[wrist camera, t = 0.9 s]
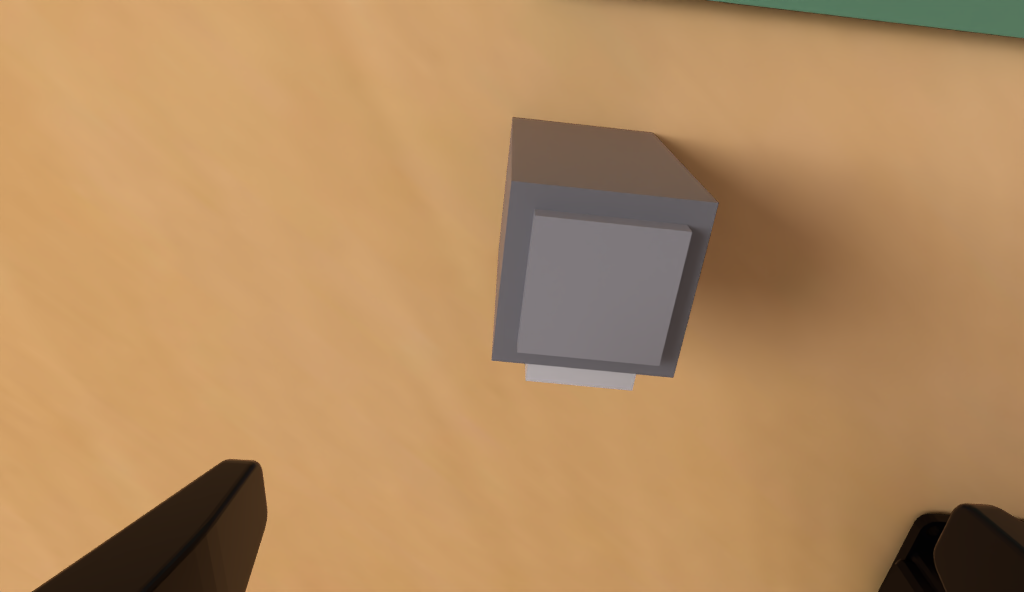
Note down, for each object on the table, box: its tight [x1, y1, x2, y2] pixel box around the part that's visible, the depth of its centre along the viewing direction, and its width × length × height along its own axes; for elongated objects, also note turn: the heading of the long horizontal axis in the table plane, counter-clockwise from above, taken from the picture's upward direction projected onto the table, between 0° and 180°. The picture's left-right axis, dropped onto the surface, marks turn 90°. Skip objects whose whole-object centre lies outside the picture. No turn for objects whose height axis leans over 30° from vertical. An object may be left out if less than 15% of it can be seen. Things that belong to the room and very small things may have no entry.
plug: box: [492, 117, 719, 390], centre depth 16 cm, size 4×4×7 cm
